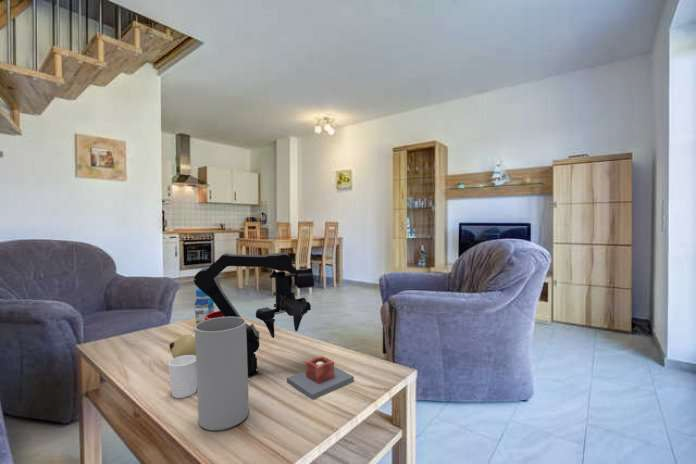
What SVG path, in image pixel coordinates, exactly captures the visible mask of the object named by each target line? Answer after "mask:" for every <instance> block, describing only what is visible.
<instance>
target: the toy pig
mask: <svg viewBox="0 0 696 464" xmlns="http://www.w3.org/2000/svg"><path fill="white" fill-rule="evenodd" d="M168 347H169V351H170V353H171V356H172V359H174V358H176V357H179V356H184V355H194V356H196V347H195V336H193V335H190V334H183V335H181V336H180V337H179V338H176V339H173V341H172V342H171V343H169V346H168Z"/></svg>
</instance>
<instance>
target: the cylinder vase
mask: <svg viewBox="0 0 696 464" xmlns="http://www.w3.org/2000/svg"><path fill="white" fill-rule="evenodd" d="M246 324H247V320H246V319H245V318H243V317H241V318H240V317H219V318H213V319H209V320H205V321H202V322H200V323H198V324H197V325H196V324H195V326H194V337H195V347H196V372H197V389H196V392H197V393H196V394H197V397H196V398H197V417H198V419H197V420H198V421H197V422H198V424H199V426H200V427H201V428H203V429H205V430H208V431H224V430H229V429H230V428H233V427H235V426H238V425H239V424H240V423H242V422H244V421H245V419H246V418H247V416H248V415H249V413H250V412H249V411H250V404H249V377H248V366H247V336H246Z"/></svg>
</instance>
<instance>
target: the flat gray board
mask: <svg viewBox="0 0 696 464" xmlns="http://www.w3.org/2000/svg"><path fill="white" fill-rule="evenodd" d="M316 364H317V365H318V366H319V365H321V364H324V363H323V362H317V363H316ZM354 378H355V377H354V375H352V374H350V373H347V372H346V371H344V370H342V369H340V368H338V367H336V366H334V378H331V379H329V380H327V381H324V382H322V383H319V384H317V383H315V382H314V381H312V380H310V379H309V378H307V377H306V370H303V371H300V372H299V373H296V374H293V375H290V376H288V377H286V383H287V384H288V385H291V386H292V387H293V388H294V389H296V390H297V391H299V392H301V393H302V394H303V395H305V396H306V397H308V398H309V399H311V400H312V401H313V400H315V399H317V398H319V397H321V396H323V395H326V394H329V393H330V392H332V391H335V390H337V389H340V388H341V387H344V386H346V385H347V384H351V383H352V382H354V381H355V379H354Z"/></svg>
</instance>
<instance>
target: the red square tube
mask: <svg viewBox="0 0 696 464" xmlns="http://www.w3.org/2000/svg"><path fill="white" fill-rule="evenodd" d="M317 362H323V363H324V364H321V365H319V366H318V365H317V364H316V363H317ZM334 367H335V361H334V360H332V359H329V358H328V357H325V356H324V355H320V356H317V357H315V358H312V359H309V360H306V361H305V371H306V377H307V378H309V379H310V380H312V381H314V382H315V383H317V384H319V383H322V382H324V381H327V380H329V379H331V378H334Z"/></svg>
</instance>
